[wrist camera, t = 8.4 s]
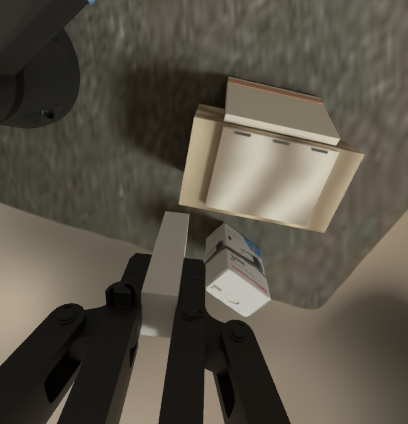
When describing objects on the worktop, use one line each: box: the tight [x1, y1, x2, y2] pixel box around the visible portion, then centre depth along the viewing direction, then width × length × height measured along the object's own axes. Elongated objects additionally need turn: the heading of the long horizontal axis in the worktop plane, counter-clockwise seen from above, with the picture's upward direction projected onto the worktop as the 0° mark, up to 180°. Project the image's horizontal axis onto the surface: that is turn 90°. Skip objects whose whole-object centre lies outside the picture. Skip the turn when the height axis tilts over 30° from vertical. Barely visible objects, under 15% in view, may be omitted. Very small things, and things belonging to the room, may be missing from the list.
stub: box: [224, 77, 340, 146], centre depth 31 cm, size 12×10×1 cm
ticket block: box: [179, 103, 365, 233], centre depth 34 cm, size 18×10×11 cm, turn 78°
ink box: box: [205, 222, 271, 316], centre depth 41 cm, size 8×5×12 cm, turn 50°
